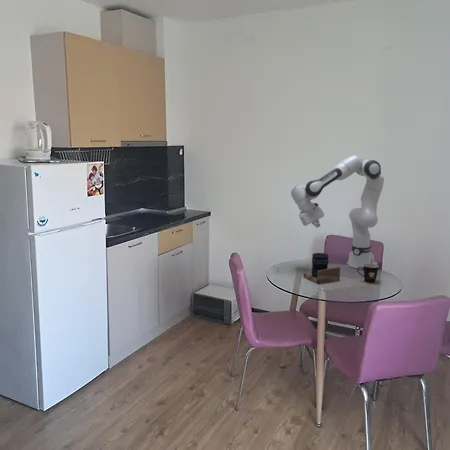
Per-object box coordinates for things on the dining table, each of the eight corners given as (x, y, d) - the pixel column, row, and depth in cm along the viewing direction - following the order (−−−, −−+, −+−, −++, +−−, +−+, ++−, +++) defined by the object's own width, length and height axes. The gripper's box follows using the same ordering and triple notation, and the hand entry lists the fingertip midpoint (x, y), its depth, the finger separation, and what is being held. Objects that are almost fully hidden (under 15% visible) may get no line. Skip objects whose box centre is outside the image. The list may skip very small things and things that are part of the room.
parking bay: (303, 277, 278) (304, 264, 277) (324, 273, 286) (324, 261, 284) (318, 284, 266) (318, 271, 264) (339, 280, 273) (340, 267, 272)
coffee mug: (378, 280, 273) (380, 264, 271) (375, 284, 266) (376, 268, 264) (359, 277, 279) (361, 261, 277) (355, 281, 272) (356, 265, 270)
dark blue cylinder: (319, 281, 270) (320, 258, 267) (307, 277, 278) (308, 254, 275) (330, 279, 275) (332, 255, 272) (319, 274, 283) (320, 252, 280)
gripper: (301, 210, 280) (312, 229, 278) (319, 202, 293) (330, 220, 291) (294, 215, 284) (306, 234, 282) (312, 207, 298) (323, 224, 296)
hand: (318, 227), depth 287 cm, fingers closed
